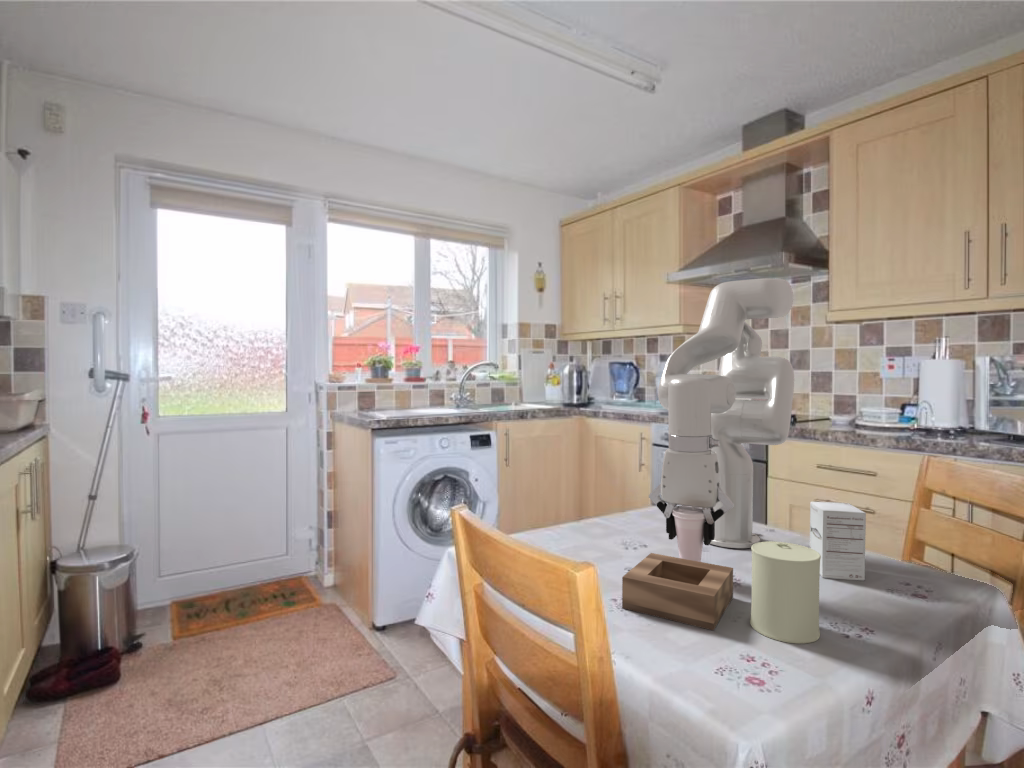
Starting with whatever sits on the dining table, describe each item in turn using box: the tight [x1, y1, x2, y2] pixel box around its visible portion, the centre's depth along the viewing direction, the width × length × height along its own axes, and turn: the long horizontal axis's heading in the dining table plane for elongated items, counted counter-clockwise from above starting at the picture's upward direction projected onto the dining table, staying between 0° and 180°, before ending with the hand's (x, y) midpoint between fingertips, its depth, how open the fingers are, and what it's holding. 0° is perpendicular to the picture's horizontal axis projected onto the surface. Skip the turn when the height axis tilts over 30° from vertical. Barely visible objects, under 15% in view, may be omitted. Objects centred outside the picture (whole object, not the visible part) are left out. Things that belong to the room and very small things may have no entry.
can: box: [749, 540, 821, 645], centre depth 81 cm, size 9×9×12 cm
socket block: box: [621, 552, 734, 631], centre depth 90 cm, size 14×14×5 cm
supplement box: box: [809, 501, 867, 581], centre depth 103 cm, size 7×7×13 cm
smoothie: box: [672, 505, 706, 562], centre depth 102 cm, size 6×6×14 cm
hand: (690, 539), depth 102 cm, fingers closed on smoothie, 5 cm apart
